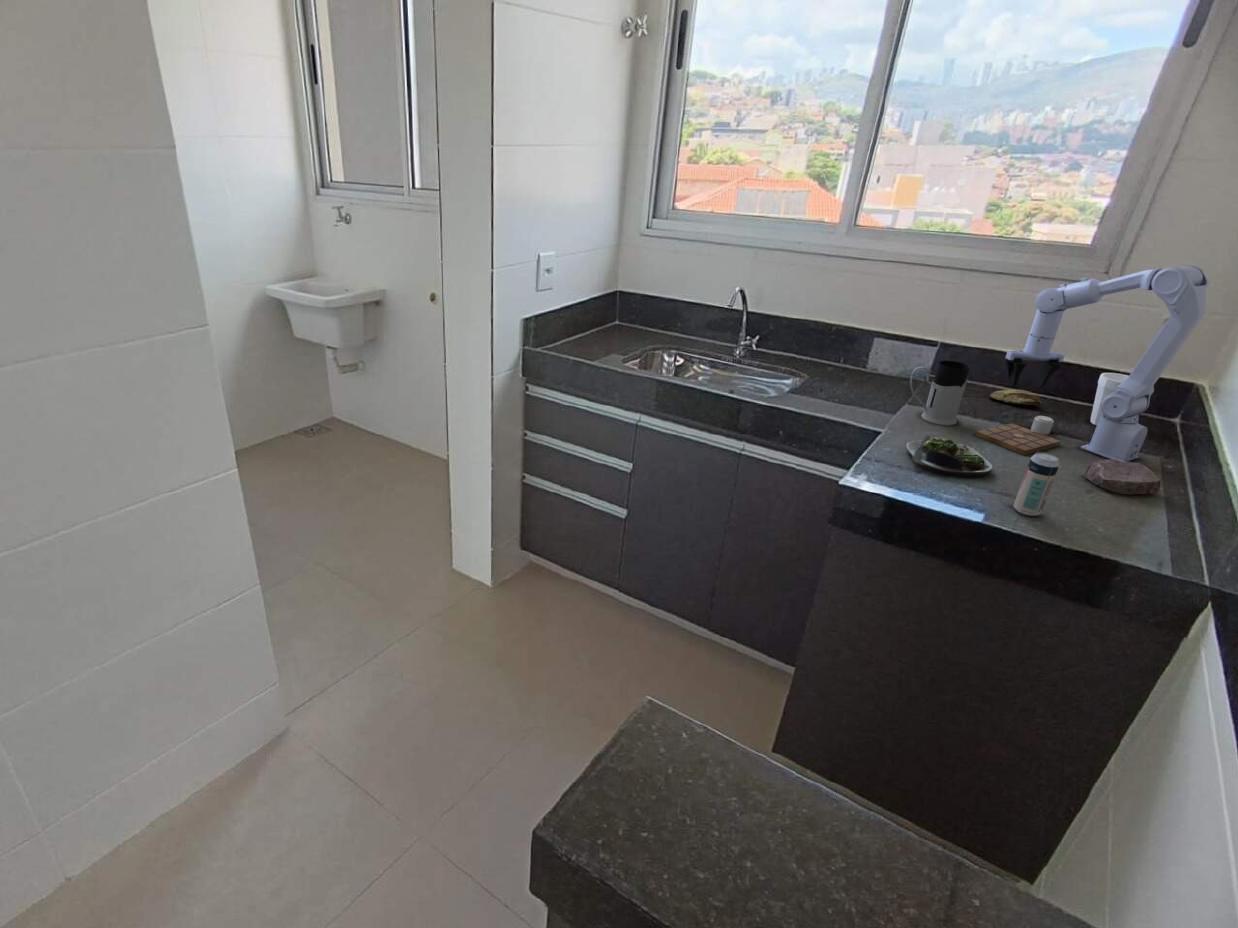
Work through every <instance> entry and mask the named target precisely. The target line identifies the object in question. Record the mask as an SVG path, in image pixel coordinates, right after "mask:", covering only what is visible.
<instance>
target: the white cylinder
mask: <svg viewBox="0 0 1238 928" xmlns="http://www.w3.org/2000/svg"><path fill="white" fill-rule="evenodd" d="M1054 422H1055V421H1054V419H1053V418H1051V417H1050V416H1046V415H1037V416H1034V419H1033V420H1032V424H1031V426H1030V430H1032V431H1034V432H1037V433H1040V434H1042V435H1050V434H1051V431H1052V429H1053V426H1054Z"/></svg>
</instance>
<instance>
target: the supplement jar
mask: <svg viewBox="0 0 1238 928" xmlns="http://www.w3.org/2000/svg"><path fill="white" fill-rule="evenodd" d="M1059 467H1060V461H1059V458H1058V457H1057V456H1056V455H1053V454H1051V453H1046V452H1035V453H1034V454H1033V455H1032V456H1031V457H1030V459H1029V461H1028V464H1027V467H1026V470H1025V473H1024V475H1023V478H1022V481H1021V484H1020V486H1019V490H1018V492H1017V495H1016V498H1015V501H1014V503H1013V508H1014V510H1016V512H1018V513H1019V514H1022V515H1024V516H1028V517H1034V516H1035V517H1036V516H1040V515H1041V514H1042V511H1043V509H1044V506H1045V503H1046V501H1047V499H1048V497H1049V493H1050V491H1051V488H1052V485H1053V483H1054V480H1055V478H1056V475H1057V474H1058V473H1057V472H1058V470H1059Z"/></svg>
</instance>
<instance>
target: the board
mask: <svg viewBox="0 0 1238 928" xmlns="http://www.w3.org/2000/svg"><path fill="white" fill-rule="evenodd" d="M976 437H978V438H981V439H984V440H986V441H988V442H991V443H994V444H996V445H998V446H1001V447H1003V448H1005V449H1008V450H1011V451H1013V452H1016V453H1018V454H1020V455H1023V456H1026V455H1029V454H1033V453H1038V452H1041V451H1045V450H1048V449H1051V448H1056V447H1058V446H1060V443H1061V440H1058V439H1055V438H1053V437H1050V436H1048V435H1046V434H1040V433H1037V432H1034V431H1032V430H1031V429H1029V428H1026V427H1025V426H1024V427H1023V426H1021V425H1018V424H1016V423H1013V422H1011V423H1007V424H1002V425H998V426H994V427H990V428H984V429H982V430H977V432H976Z"/></svg>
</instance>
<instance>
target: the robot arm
mask: <svg viewBox="0 0 1238 928" xmlns="http://www.w3.org/2000/svg"><path fill="white" fill-rule="evenodd" d="M1209 284H1210V281H1209V279H1208V278H1207V275H1206V274H1205V272H1204V270H1203V269H1202V268H1200V267H1199V266H1196V265H1192V264H1191V265H1189V264H1188V265H1184V266H1168V267H1167V266H1166V267H1164V268H1155V269H1154V268H1153V269H1145V270H1142V271H1138V272H1134V273H1130V274H1127V275H1122V276H1119V277H1116V278H1112V279H1108V280H1104V281H1101V280H1099V279H1098V278H1091V277H1082V278H1081V280H1080V281H1078V282H1074V283H1070V284H1067V283H1062V284H1060V285H1059V287H1056V288H1055V287H1054V288H1053V287H1048V288H1046V289H1044V290H1042V291H1040V292H1039V293H1038V294H1037V296H1036V298H1035V306H1036V308H1037V310H1036V311H1035V312H1036V313H1035V315H1034V318H1033V322H1032V324H1031V327H1030V330H1029V335H1027V336H1028V337H1027V340H1026V343H1025V346H1024V348H1023V349H1019V350H1007V351H1006V354H1005V363H1006V367H1007V386H1009V387H1010V388H1016V386H1017V385H1018V381H1019V378H1020V377H1021V375H1022V372H1023V370H1024V369H1025V367H1026V366H1027V364H1026V363H1025V362H1023V361H1039V367H1038V373H1037V376H1036V379H1035V383H1034V386H1035V387H1037V388H1038V389H1043V388H1044V386H1045V384H1046V383H1047V381H1048V380H1050V378H1051V376H1052V375H1053V374H1054V373H1055V372H1056V371H1058V370H1059V369H1060V368H1062V367H1061V366H1062V363H1063V362H1064V359H1065V356H1066V354H1064V353H1062V352H1054V351H1051V350H1052V348H1053V344H1054V341H1055V338H1056V335H1057V333H1058V329H1059V327H1060V324H1061V321H1062V318H1063V315H1064V313H1065V311H1066V310H1068V309H1069V310H1070V309H1074V308H1078V307H1082V306H1086V305H1091V304H1097V303H1099V302H1100V301H1101V300H1102V299H1103V297H1104V296H1107V295H1111V294H1116V293H1117V294H1118V293H1121V292H1127V291H1131V290H1136V289H1142V290H1145V291H1146V292H1147V291H1149V292H1150V291H1152V292H1153V293H1154V294H1155V295H1156V296H1157V297H1158V298H1159V299H1160V300H1161V301H1162V302H1163V303H1165V305H1166V308H1167V310H1168V312H1169V314H1170V315H1169V317H1168V318H1167V320H1166V321H1165V323H1164V324H1163V326H1162V327H1161V328H1160V330H1159V332H1158V333H1157V334H1156V335H1155V337H1154V339H1153V340H1152V342H1151V343H1150V344H1149V346H1148V347H1147V349H1146V351H1144V354H1143V355H1142V356H1141V358H1140V359H1139V360H1138V362H1137V364H1136V365H1135V366H1134V367H1133V370H1131V372H1130V373H1129V375H1128V376H1129V377H1128V378H1127V379H1126V380H1125V381H1123V382H1122V383H1121V384H1120V385H1119V386H1118V387H1117V388H1116V389H1115V391H1114V392H1113V393H1111V394H1110V395H1108V396H1106V397H1105V398H1104V399H1103V401H1102V403H1101V411H1102V414H1101V417H1100V419H1099V422H1098V424H1097V425H1096V427H1095V429H1094V431H1093V435H1092V437H1091V440H1090V441H1089V443H1087V444H1084V445H1081V446H1080V449H1082V450H1084V451H1087V452H1090V453H1093V454H1095V455H1098V456H1101V457H1103V458H1106V459H1108V460H1111V459H1115V460H1119V461H1122V462H1131V461H1132V460H1136V459H1138V458H1139V454H1140V451H1141V449H1142V447H1143V445H1144V443H1145V440H1146V437H1147V435H1148V427H1147V426H1144V425H1142V424H1140V423H1139V419H1140V417H1139V416H1140V415H1141V414H1143V413H1144V412H1145V411H1146V410H1148V408H1149V406H1150V400H1151V396H1152V395H1153V394H1154V392H1155V388H1154V387H1155V384H1156V383H1157V381H1158V380H1159V379H1160V377H1161V376H1162V374H1163V373H1164V372H1165V370H1166V369H1167V367H1168V366H1169V365H1170V363H1171V362H1172V360H1173V359H1174V357H1175V356H1176V355H1177V353H1178V352H1179V351H1180V350H1181V348H1182V347H1183V345H1184V344H1185V342H1186V341H1187V339H1188V338H1189V337H1190V336H1191V335H1192V333H1193V331H1194V330H1195V328H1196V327H1197V326H1198V325H1199V323H1200V322H1201V321H1202V319H1203V318H1204V316H1205V314H1206V307H1207V290H1208V287H1209Z"/></svg>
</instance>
